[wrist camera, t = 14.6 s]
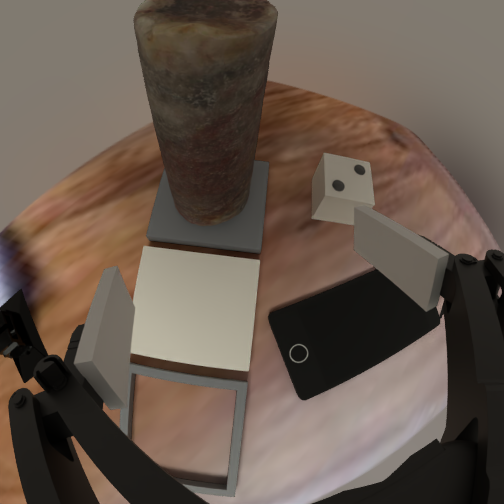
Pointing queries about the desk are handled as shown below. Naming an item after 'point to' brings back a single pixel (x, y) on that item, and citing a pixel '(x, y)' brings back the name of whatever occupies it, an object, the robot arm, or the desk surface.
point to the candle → (206, 96)
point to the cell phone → (347, 331)
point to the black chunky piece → (20, 336)
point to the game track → (199, 305)
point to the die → (340, 188)
